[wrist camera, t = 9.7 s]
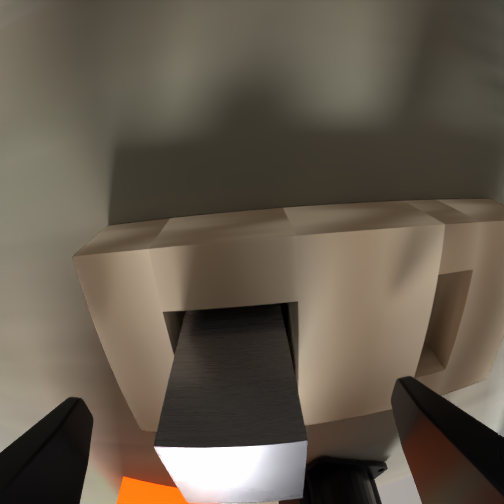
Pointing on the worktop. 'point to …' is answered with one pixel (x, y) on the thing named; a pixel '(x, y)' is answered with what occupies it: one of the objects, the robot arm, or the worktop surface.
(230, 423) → the square bit
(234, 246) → the socket block
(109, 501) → the worktop surface
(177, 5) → the worktop surface
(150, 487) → the orange juice
